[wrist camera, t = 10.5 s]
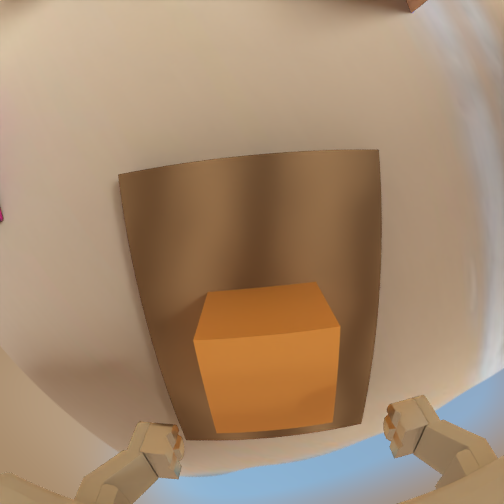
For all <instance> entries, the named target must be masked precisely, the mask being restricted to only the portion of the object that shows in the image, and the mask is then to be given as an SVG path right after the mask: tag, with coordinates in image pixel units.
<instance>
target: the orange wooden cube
mask: <svg viewBox="0 0 504 504" xmlns="http://www.w3.org/2000/svg"><path fill="white" fill-rule="evenodd" d="M193 342H194V346H195V351H196V355H197V360H198V364H199V368H200V372H201V376H202V380H203V384H204V388H205V392H206V396H207V400H208V404H209V408H210V411H211V415H212V419H213V422H214V426H215V429H216V433H241V432H258V431H270V430H281V429H290V428H298V427H306V426H313V425H319V424H325V423H331V422H333V415H334V406H335V396H336V386H337V374H338V361H339V345H340V325H339V323H338V321H337V319H336V317H335V316H334V314H333V312H332V310H331V308H330V306H329V305H328V303H327V301H326V299H325V297H324V295H323V294H322V292H321V290H320V288H319V286H318V285H317V283H316V282H310V283H300V284H291V285H281V286H271V287H260V288H249V289H238V290H226V291H214V292H208V293H207V296H206V299H205V303H204V306H203V309H202V313H201V316H200V319H199V323H198V326H197V329H196V333H195V336H194V339H193Z"/></svg>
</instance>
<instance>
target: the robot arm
mask: <svg viewBox="0 0 504 504" xmlns="http://www.w3.org/2000/svg"><path fill="white" fill-rule="evenodd" d="M387 412H388V415H387V416H386V417H385V418H384V423H383V430H384V434H385V436H386V439H388V440H389V441H391V444H390V449H391V451H392V454H393V456H394V458H398V457H402V456H405V455H408V454H412V453H413V454H414V455H415V456H417V457H418V458H419V459H421V460H422V461H424V462H425V463H427V464H428V465H429V466H431V467H432V468H434V469H435V470H437V471H438V472H439V473H441V474H442V477H441V478H440V480H439V481H438V482H437V484H436V486H435V487H436V490H434V491H431V492H429V493H426V494H423V495H421V496H418V497H415V498H413V499H410V500H407V501H404V502H401V503H397V504H504V455H503V456H501V457H500V458H497V456H496V455H495V453H494V451H493V450H492V448H491V447H490V445H489V444H488V442H487V441H486V439H485V438H482V437H480V436H478V435H476V434H474V433H471V432H469V431H467V430H465V429H462V428H460V427H458V426H456V425H454V424H452V423H449V422H447V421H445V420H441V421H440V419H439V417H438V416H437V414H436V413H435V411H434V409H433V408H432V406H431V405H430V403H429V401H428V400H427V398H426V397H425V396H424V395H421V396H418V397H414V398H410V399H406V400H403V401H399V402H395V403H392V404H389V406H388V408H387ZM178 432H179V429H178V427H177V425H173V424H161V423H152V422H141V421H140V422H139V423H138V424H137V425H136V428H135V431H134V433H133V436H132V438H131V441H130V443H129V446H128V448H127V450H123V451H122V452H120V453H119V454H117V455H116V456H114V457H113V458H112V459H110V460H109V461H107V462H106V463H104V464H103V465H101V466H100V467H98V468H97V469H96V470H94V471H92V472H91V473H89V474H88V475H86V476H85V477H84V478H83V480H82V482H81V485H80V487H79V489H78V491H77V494H76V496H75V498H74V499H71V498H68V497H65V496H62V495H60V494H57V493H55V492H52V491H50V490H48V489H45V488H43V487H40V486H38V485H36V484H34V483H32V482H29V481H27V480H25V479H23V478H21V477H19V476H17V475H15V474H13V473H10V472H6V473H2V474H0V504H133V503H134V502H135V501H136V500H137V499H138V498H139V497H140V496H141V495H142V494H143V493H144V492H145V491H146V490H147V489H148V488H149V487H150V486H151V485H152V484H153V483H154V482H155V481H156V480H157V479H158V477H160V478H171V479H179V475H180V470H181V465H180V463H179V461H180V460H181V459H182V458H183V456H184V442H183V439H182V437H181V436H180V435H178Z"/></svg>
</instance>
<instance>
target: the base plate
mask: <svg viewBox="0 0 504 504" xmlns="http://www.w3.org/2000/svg"><path fill="white" fill-rule="evenodd" d="M118 176H119V184H120V192H121V199H122V206H123V212H124V219H125V225H126V230H127V236H128V241H129V247H130V252H131V257H132V262H133V267H134V271H135V276H136V280H137V285H138V289H139V293H140V298H141V302H142V306H143V310H144V314H145V317H146V321H147V325H148V329H149V332H150V336H151V339H152V343H153V346H154V350H155V353H156V356H157V359H158V363H159V366H160V369H161V372H162V375H163V378H164V381H165V384H166V387H167V390H168V393H169V396H170V399H171V402H172V404H173V407H174V410H175V413H176V415H177V418H178V421H179V423H180V426H181V428H182V431H183V433H184V436H185V438H186V440H244V439H260V438H272V437H282V436H291V435H299V434H307V433H313V432H320V431H326V430H332V429H337V428H342V427H347V426H352V425H357V424H361V422H362V417H363V412H364V407H365V402H366V396H367V391H368V385H369V379H370V373H371V366H372V359H373V351H374V343H375V335H376V326H377V315H378V303H379V290H380V272H381V238H382V213H381V180H380V162H379V150H322V151H300V152H284V153H271V154H259V155H248V156H238V157H229V158H220V159H212V160H204V161H196V162H189V163H182V164H176V165H169V166H163V167H157V168H151V169H146V170H140V171H135V172H129V173H124V174H119V175H118ZM310 282H316V283H317V285H318V286H319V288H320V290H321V292H322V294H323V295H324V297H325V299H326V301H327V303H328V305H329V306H330V308H331V310H332V312H333V314H334V316H335V317H336V319H337V321H338V323H339V325H340V345H339V361H338V374H337V386H336V396H335V406H334V415H333V422H331V423H325V424H319V425H313V426H306V427H298V428H290V429H281V430H270V431H258V432H241V433H216V429H215V426H214V422H213V419H212V415H211V411H210V408H209V404H208V400H207V396H206V392H205V388H204V384H203V380H202V376H201V372H200V368H199V364H198V360H197V355H196V351H195V346H194V342H193V339H194V336H195V333H196V329H197V326H198V323H199V319H200V316H201V313H202V309H203V306H204V303H205V299H206V296H207V293H208V292H214V291H226V290H238V289H249V288H260V287H271V286H281V285H291V284H300V283H310Z"/></svg>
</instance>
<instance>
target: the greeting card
mask: <svg viewBox="0 0 504 504" xmlns="http://www.w3.org/2000/svg"><path fill="white" fill-rule="evenodd" d="M406 1H407V3H408V6H409V9H410V11H411V13H412V12H413V11H415V10H416V9H417V8H418V7H420V6H421V5H422V4H423V3H425V2H426V1H427V0H406Z"/></svg>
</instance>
